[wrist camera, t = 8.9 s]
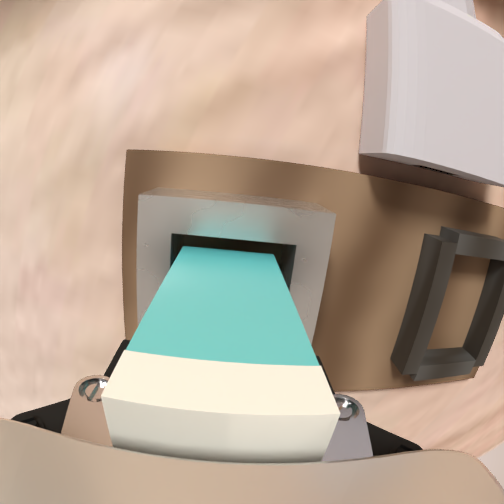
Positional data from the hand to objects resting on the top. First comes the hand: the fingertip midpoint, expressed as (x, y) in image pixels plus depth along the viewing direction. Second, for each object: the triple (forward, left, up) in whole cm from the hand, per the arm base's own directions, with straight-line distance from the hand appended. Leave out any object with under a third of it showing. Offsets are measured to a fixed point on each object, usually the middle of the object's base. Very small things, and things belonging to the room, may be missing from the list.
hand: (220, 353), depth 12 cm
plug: (0, 0, -4) cm, 4 cm away
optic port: (0, 0, -7) cm, 7 cm away
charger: (-11, -16, -8) cm, 21 cm away
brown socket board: (-8, 0, -7) cm, 11 cm away
